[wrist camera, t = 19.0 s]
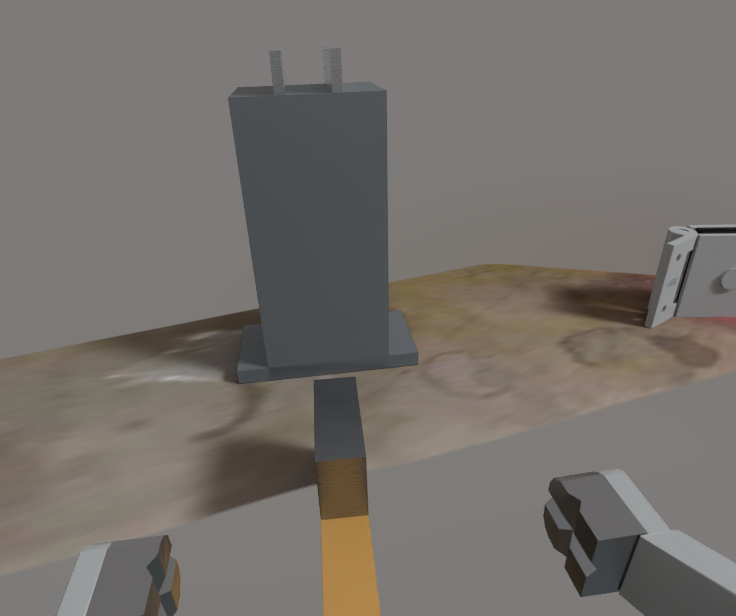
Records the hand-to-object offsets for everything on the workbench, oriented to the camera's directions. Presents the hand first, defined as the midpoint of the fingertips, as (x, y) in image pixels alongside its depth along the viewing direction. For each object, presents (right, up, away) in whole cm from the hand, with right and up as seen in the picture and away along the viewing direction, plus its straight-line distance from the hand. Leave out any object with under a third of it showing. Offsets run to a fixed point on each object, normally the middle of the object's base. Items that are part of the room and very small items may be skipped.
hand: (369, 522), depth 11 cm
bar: (-1, -12, +22) cm, 25 cm away
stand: (-4, 0, +44) cm, 44 cm away
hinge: (+38, +4, +48) cm, 62 cm away
